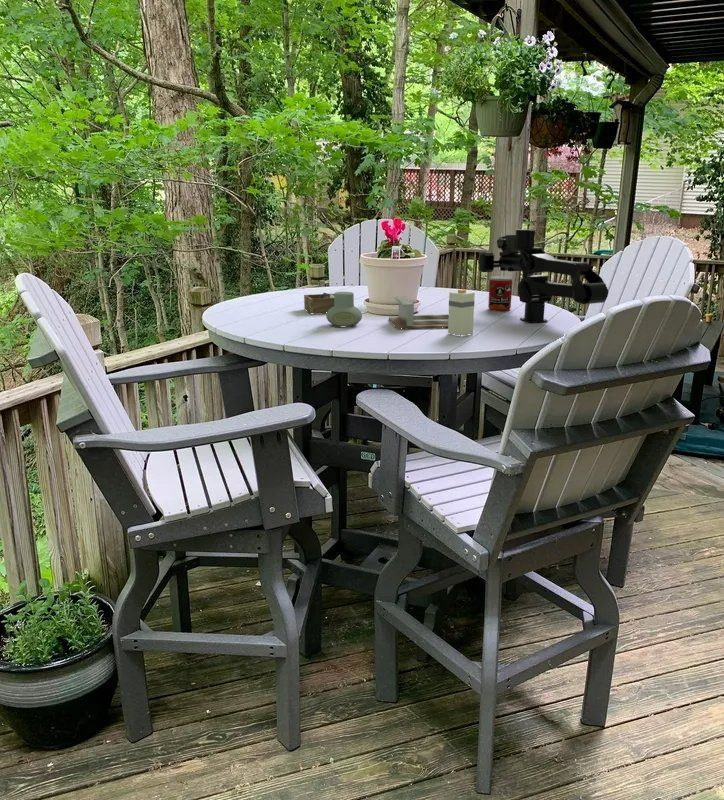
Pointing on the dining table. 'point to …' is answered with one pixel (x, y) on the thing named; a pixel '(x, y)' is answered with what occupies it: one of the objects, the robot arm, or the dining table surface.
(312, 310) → the brown wooden box
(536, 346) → the dining table surface
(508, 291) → the canned food
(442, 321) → the board
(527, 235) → the robot arm
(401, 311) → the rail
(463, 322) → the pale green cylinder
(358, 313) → the air freshener
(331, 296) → the eagle figurine
